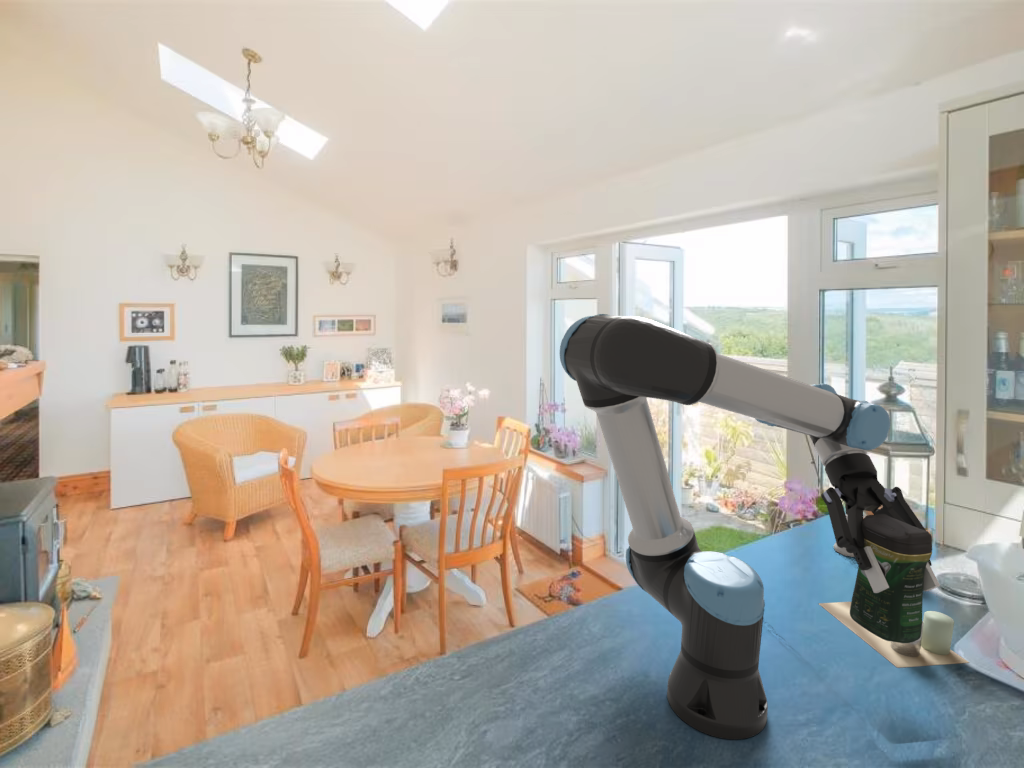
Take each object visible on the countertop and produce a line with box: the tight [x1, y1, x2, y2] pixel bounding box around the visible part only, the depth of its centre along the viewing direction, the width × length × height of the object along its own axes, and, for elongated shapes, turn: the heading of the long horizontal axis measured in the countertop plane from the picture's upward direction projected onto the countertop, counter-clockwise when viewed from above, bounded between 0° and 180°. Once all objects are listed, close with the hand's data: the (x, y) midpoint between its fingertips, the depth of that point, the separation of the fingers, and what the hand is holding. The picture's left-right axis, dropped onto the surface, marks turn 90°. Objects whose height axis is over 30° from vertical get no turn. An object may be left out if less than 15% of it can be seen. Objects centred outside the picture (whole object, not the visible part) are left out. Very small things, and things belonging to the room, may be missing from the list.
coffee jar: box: [850, 514, 933, 643], centre depth 90 cm, size 10×8×19 cm
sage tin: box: [921, 610, 955, 655], centre depth 102 cm, size 4×4×6 cm
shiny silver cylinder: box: [891, 620, 924, 657], centre depth 101 cm, size 4×4×6 cm
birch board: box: [818, 601, 970, 669], centre depth 108 cm, size 14×21×2 cm, turn 7°
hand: (906, 589), depth 87 cm, fingers closed on coffee jar, 8 cm apart
